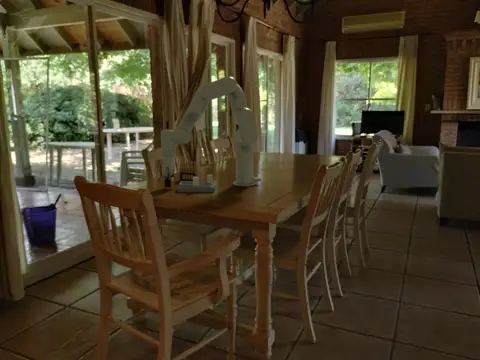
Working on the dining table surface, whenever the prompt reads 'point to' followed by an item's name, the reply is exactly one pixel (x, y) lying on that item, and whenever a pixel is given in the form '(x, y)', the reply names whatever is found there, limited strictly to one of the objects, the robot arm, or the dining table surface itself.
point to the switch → (195, 181)
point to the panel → (196, 187)
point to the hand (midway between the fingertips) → (169, 185)
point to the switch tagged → (209, 179)
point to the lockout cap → (171, 184)
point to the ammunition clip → (187, 171)
